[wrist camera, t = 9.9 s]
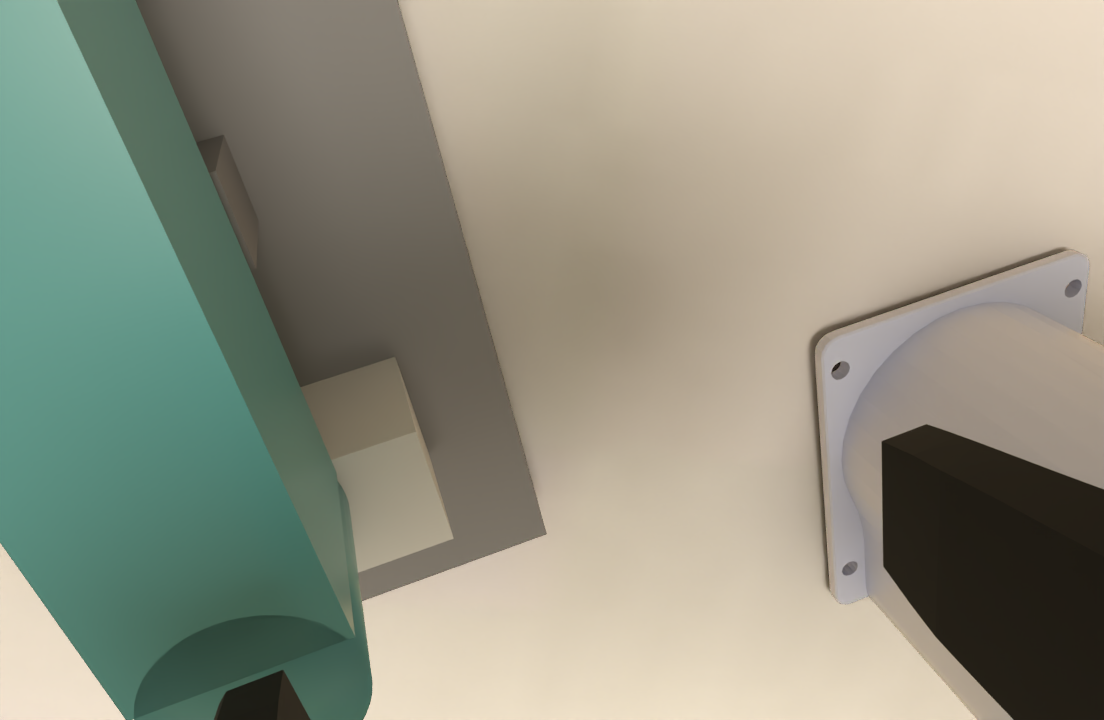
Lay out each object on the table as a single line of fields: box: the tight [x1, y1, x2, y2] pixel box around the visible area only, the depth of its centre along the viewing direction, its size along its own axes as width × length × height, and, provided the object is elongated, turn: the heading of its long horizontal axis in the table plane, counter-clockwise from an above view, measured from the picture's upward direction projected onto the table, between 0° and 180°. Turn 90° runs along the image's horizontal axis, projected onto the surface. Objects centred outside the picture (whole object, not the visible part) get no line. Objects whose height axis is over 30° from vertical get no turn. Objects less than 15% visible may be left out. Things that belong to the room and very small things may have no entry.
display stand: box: [135, 0, 546, 601], centre depth 14 cm, size 20×10×4 cm, turn 12°
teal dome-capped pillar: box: [0, 0, 372, 720], centre depth 11 cm, size 13×3×4 cm, turn 13°
